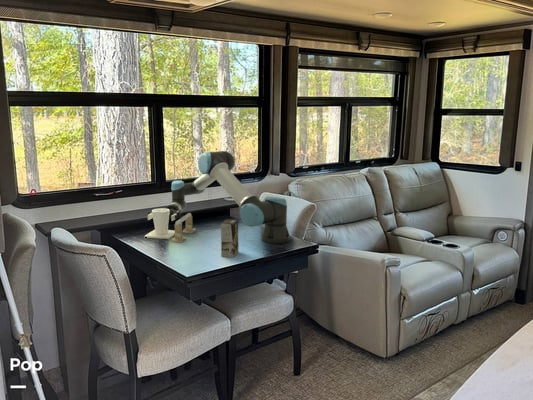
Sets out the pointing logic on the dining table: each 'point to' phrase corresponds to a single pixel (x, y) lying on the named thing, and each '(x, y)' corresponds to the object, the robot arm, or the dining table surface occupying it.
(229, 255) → the coffee box
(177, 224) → the steel bar
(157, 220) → the foam cup
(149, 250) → the dining table surface
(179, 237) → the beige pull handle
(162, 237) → the cream pad
